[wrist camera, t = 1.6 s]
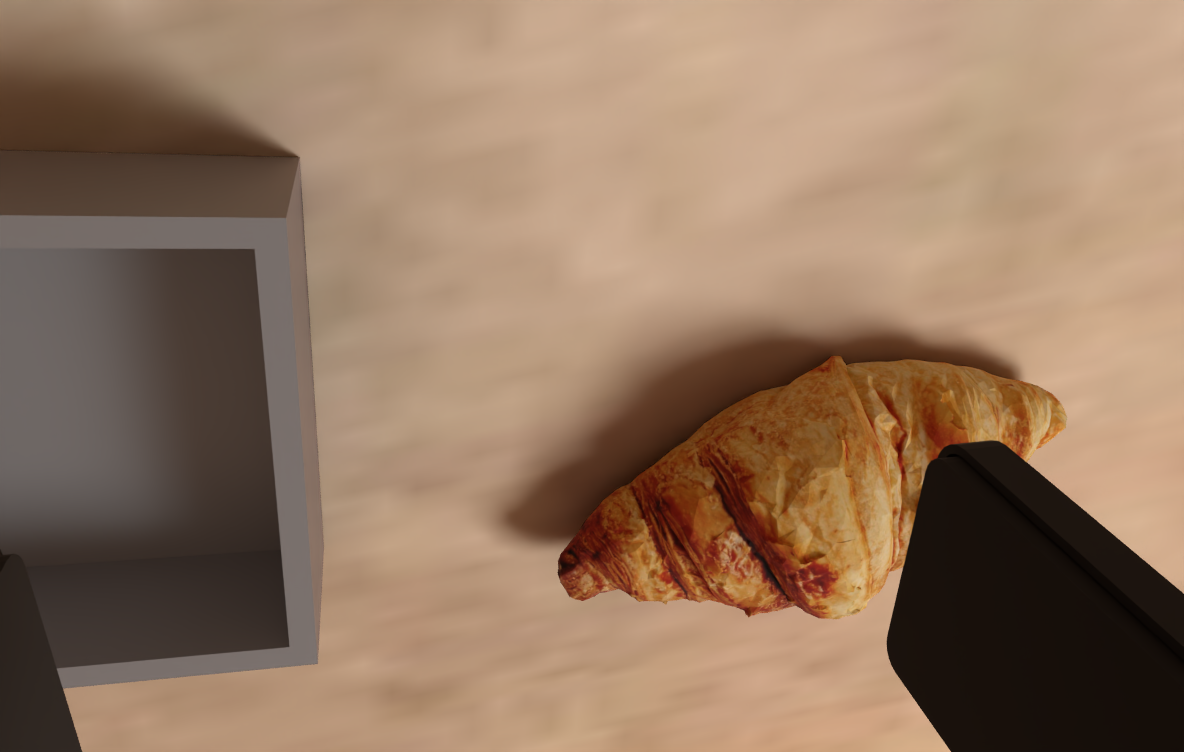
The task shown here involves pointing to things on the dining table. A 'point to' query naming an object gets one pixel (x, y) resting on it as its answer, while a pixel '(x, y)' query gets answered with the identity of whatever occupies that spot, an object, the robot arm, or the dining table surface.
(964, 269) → the dining table surface
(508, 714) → the dining table surface
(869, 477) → the croissant
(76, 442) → the bin
